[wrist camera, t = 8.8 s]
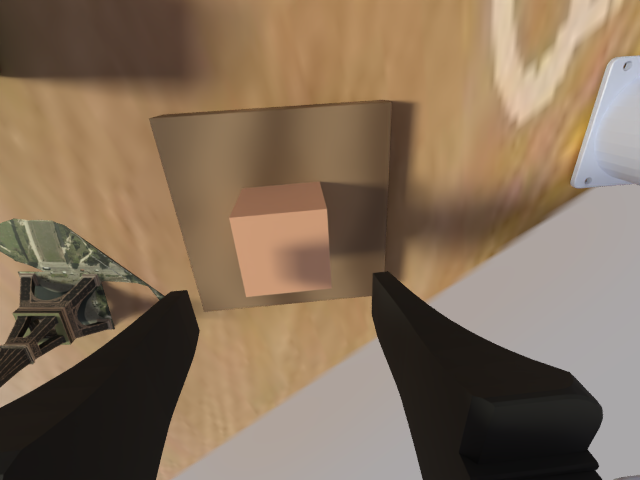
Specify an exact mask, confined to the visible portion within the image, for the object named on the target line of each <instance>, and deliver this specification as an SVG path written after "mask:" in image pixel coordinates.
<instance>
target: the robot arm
mask: <svg viewBox="0 0 640 480" xmlns="http://www.w3.org/2000/svg"><path fill="white" fill-rule="evenodd" d="M625 63H626V66H625V68H624V69H623V66H624V64H625ZM586 179H587V181H586V182H585V180H586ZM570 184H571V186H572V187H575V188H589V187H601V186H613V185H625V184H637V185H640V56H625V57H616V58H613V59H612V60H611V61H610V62H609V63H608V65H607V67H606V70H605V73H604V76H603V79H602V83H601V86H600V89H599V92H598V95H597V99H596V102H595V105H594V108H593V111H592V114H591V118H590V121H589V124H588V127H587V130H586V133H585V137H584V140H583V143H582V146H581V149H580V153H579V156H578V159H577V162H576V165H575V168H574V172H573V175H572V178H571V182H570ZM372 317H373V321H374V325H375V329H376V333H377V337H378V339H379V342H380V344H381V347H382V349H383V352H384V355H385V357H386V360H387V362H388V365H389V367H390V370H391V372H392V375H393V377H394V380H395V382H396V385H397V388H398V391H399V393H400V396H401V400H402V403H403V407H404V410H405V414H406V417H407V421H408V424H409V428H410V432H411V435H412V439H413V443H414V446H415V451H416V454H417V458H418V462H419V466H420V470H421V474H422V478H423V480H602V479H601V477H600V476H599V475H598V473H597V472H596V471H595V470H597V469H598V467H599V465H598V462H597V461H596V460H595V458H594V457H593V456H592V454H591V453H590V452H589V451H588V447H589V445H590V444H591V442H592V440H593V438H594V436H595V435H596V433H597V431H598V429H599V428H600V425H601V422H602V419H603V412H602V407H601V406H600V404H599V403H598V401H597V400H596V399H595V398H594V397H593V396H592V395H591V394H590V393H589V392H588V391H587V390H586V389H585V388H584V387H583V385H582V384H581V383H580V382H579V381H578V380H577V379H576V378H575V377H574V376H573V375H572V374H571V373H570V372H567V371H564V370H562V369H559V368H556V367H553V366H550V365H547V364H544V363H541V362H538V361H535V360H532V359H530V358H527V357H525V356H522V355H519V354H517V353H515V352H512V351H510V350H508V349H505V348H503V347H501V346H499V345H496V344H494V343H492V342H490V341H488V340H486V339H484V338H482V337H480V336H478V335H476V334H474V333H472V332H470V331H469V330H467V329H465V328H463V327H462V326H460V325H458V324H457V323H455V322H453V321H451V320H450V319H448V318H447V317H445V316H444V315H442V314H441V313H439V312H438V311H436V310H435V309H433V308H432V307H431V306H429V305H428V304H427V303H425V302H424V301H423V300H421V299H420V298H419V297H418V296H416V295H415V294H414V293H413V292H411V291H410V290H409V289H408V288H407V287H405V286H404V285H403V284H402V283H401V282H400V281H398V280H397V279H396V278H395V277H394V276H393V275H392V274H390V273H389V272H388V271H387V272H377V273H373V278H372ZM199 331H200V330H199V327H198V324H197V321H196V317H195V314H194V311H193V308H192V304H191V301H190V298H189V295H188V291H187V290H183V291H172V292H170V293H169V294H167V295H166V296H165V297H163V298H162V299H161V300H160V301H158V302H157V303H156V304H155V305H154V306H152V307H151V308H150V309H149V310H148V311H147V312H145V313H144V314H143V315H142V316H141V317H139V318H138V319H137V320H136V321H135V322H133V323H132V324H131V325H130V326H128V327H127V328H126V329H125V330H123V331H122V332H121V333H119V334H118V335H117V336H116V337H114V338H113V339H112V340H110V341H109V342H108V343H106V344H105V345H104V346H103V347H101V348H100V349H98V350H97V351H96V352H94V353H93V354H91V355H90V356H88V357H87V358H85V359H84V360H82V361H81V362H79V363H78V364H76V365H75V366H73V367H72V368H70V369H69V370H67V371H65V372H64V373H62V374H60V375H59V376H57V377H55V378H53V379H52V380H50V381H48V382H47V383H45V384H43V385H42V386H40V387H38V388H37V389H35V390H33V391H31V392H29V393H28V394H26V395H24V396H22V397H20V398H18V399H16V400H14V401H13V402H11V403H9V404H7V405H5V406H3V407H1V408H0V480H156V477H157V473H158V469H159V464H160V460H161V456H162V452H163V448H164V444H165V440H166V436H167V432H168V428H169V425H170V421H171V418H172V415H173V412H174V409H175V407H176V404H177V401H178V398H179V396H180V393H181V390H182V388H183V385H184V382H185V380H186V377H187V374H188V371H189V369H190V366H191V363H192V360H193V357H194V354H195V350H196V346H197V341H198V336H199ZM614 480H640V475H636V476H628V477H621V478H618V479H614Z"/></svg>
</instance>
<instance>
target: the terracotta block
mask: <svg viewBox="0 0 640 480" xmlns="http://www.w3.org/2000/svg"><path fill="white" fill-rule="evenodd" d="M229 220H230V224H231V229H232V234H233V238H234V243H235V248H236V252H237V257H238V262H239V266H240V271H241V276H242V280H243V285H244V289H245V294H246V297H252V296H262V295H272V294H282V293H291V292H301V291H311V290H321V289H331V288H332V284H331V267H330V251H329V234H328V218H327V207H326V203H325V200H324V196H323V192H322V189H321V185H320V181H319V182H308V183H297V184H285V185H274V186H263V187H251V188H242V190H241V193H240V195H239V197H238V199H237V201H236V204H235V206H234V208H233V210H232V213H231V215H230V217H229Z"/></svg>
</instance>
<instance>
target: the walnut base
mask: <svg viewBox="0 0 640 480" xmlns="http://www.w3.org/2000/svg"><path fill="white" fill-rule="evenodd" d="M391 113H392V102H389V101H385V100H375V101H360V102H345V103H330V104H316V105H301V106H286V107H271V108H256V109H241V110H226V111H211V112H196V113H182V114H167V115H160V116H157V117H153V118H149V120H150V124H151V127H152V131H153V134H154V138H155V141H156V145H157V148H158V152H159V155H160V159H161V162H162V166H163V169H164V173H165V176H166V180H167V183H168V187H169V190H170V194H171V197H172V201H173V204H174V208H175V211H176V215H177V218H178V222H179V225H180V229H181V232H182V236H183V239H184V243H185V246H186V250H187V253H188V257H189V260H190V264H191V267H192V271H193V274H194V278H195V281H196V285H197V288H198V292H199V295H200V299H201V302H202V306H203V309H204V312H208V311H218V310H229V309H239V308H250V307H260V306H271V305H281V304H292V303H302V302H313V301H323V300H334V299H344V298H355V297H365V296H372V278H373V273H377V272H385V249H386V227H387V204H388V181H389V159H390V136H391ZM319 181H320V185H321V189H322V192H323V196H324V200H325V203H326V207H327V218H328V234H329V251H330V267H331V284H332V288H331V289H321V290H311V291H301V292H291V293H282V294H272V295H262V296H252V297H246V294H245V289H244V285H243V280H242V276H241V271H240V266H239V262H238V257H237V252H236V248H235V243H234V238H233V234H232V229H231V224H230V220H229V217H230V215H231V213H232V210H233V208H234V206H235V204H236V201H237V199H238V197H239V195H240V193H241V190H242V188H251V187H263V186H274V185H285V184H297V183H308V182H319Z"/></svg>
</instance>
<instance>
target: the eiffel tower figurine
mask: <svg viewBox="0 0 640 480" xmlns="http://www.w3.org/2000/svg"><path fill="white" fill-rule="evenodd" d="M0 251H1V252H2V253H4V254H6V255H7V256H9V257H11V258H12V259H14V260H15V261H18V262H21V263H24V264H27V265H30V266H33V267H35V268H37V269H40V270H42V271H44V272H18V273H19V276H20V278H21V281H20V306H19V308H18V309H17V310H16V311H15V312H13V315H14V317H15V320H16V322H15V325H14V327H13V329H12V331H11V333H10V335H9V337H8V339H7V341H6V343H5V344H4V345H1V346H0V387H1V386H2V385H4V384H5V383H6V382H7V381H8V380H9V379H11V378H12V377H13V376H14V375H15V374H16V373H18V372H19V371H20V370H22V369H23V368H24V367H26V366H27V365H28V364H34V363H35V359H37V358H38V357H40V356H42V355H43V354H45V353H47V352H49V351H50V350H52V349H54V348H55V347H57V346H59V345H71V343H72V342H73V341H74V340H75V339H76V338H79V337H82V336H86V335H89V334H93V333H97V332H100V331H104V330H107V329H115V328H114V325H113V321H112V318H111V314H110V311H109V307H108V304H107V300H106V297H105V293H104V290H103V286H102V283H101V282H103V281H115V282H130V283H138V284H142V285H145V286H149V285H148V284H146V283H145V282H143V281H142V280H140V279H139V278H137V277H136V276H134V275H133V274H131V273H130V272H129V271H127V270H126V269H124V268H123V267H121V266H120V265H118V264H117V263H116V262H114V261H113V260H111V259H110V258H109V257H107V256H106V255H104V254H103V253H102V252H100V251H99V250H97V249H96V248H95V247H93V246H92V245H90V244H89V243H88V242H86V241H85V240H84V239H82V238H81V237H79V236H78V235H77V234H75V233H74V232H73V231H71V230H70V229H68V228H67V227H66V226H64V225H62V224H58V223H56V222H53V221H48V220H21V219H12V220H9V221H6V222H2V223H1V224H0ZM149 288H150V289H151V290H152V291H153V293H154V294H155V295H156V296H157V297H158V299H159V300H161V299H162V298H163V297H164V296H163V295H162V294H160V293H159V292H158V291H156V290H155V289H153V288H152V287H151V286H149ZM38 345H39V346H38Z"/></svg>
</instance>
